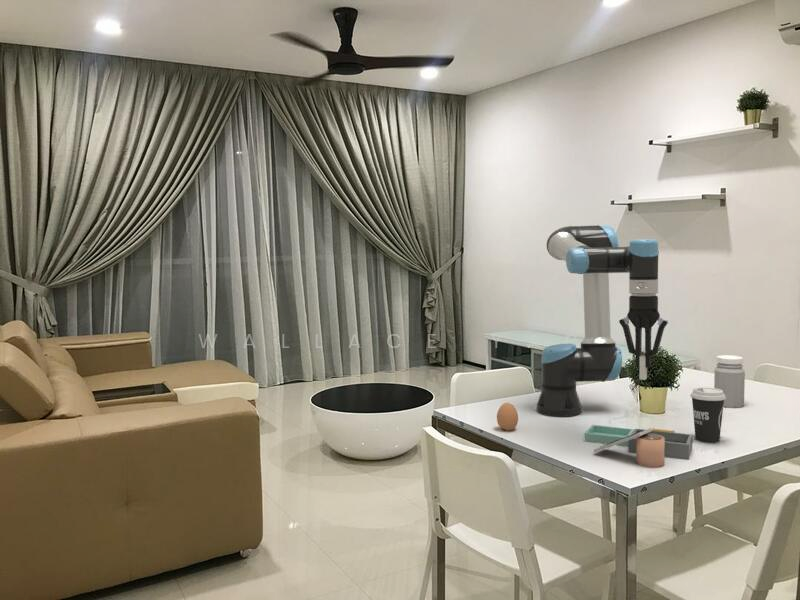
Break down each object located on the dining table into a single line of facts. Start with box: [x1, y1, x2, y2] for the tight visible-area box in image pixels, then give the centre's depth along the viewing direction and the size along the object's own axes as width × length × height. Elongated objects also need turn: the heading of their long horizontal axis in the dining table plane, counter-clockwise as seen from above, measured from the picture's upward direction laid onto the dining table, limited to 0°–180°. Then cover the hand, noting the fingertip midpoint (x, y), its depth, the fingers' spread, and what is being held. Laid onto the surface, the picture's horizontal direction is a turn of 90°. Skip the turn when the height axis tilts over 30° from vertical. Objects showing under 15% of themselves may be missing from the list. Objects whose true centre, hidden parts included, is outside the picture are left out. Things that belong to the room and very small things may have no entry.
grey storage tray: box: [628, 427, 694, 460], centre depth 188 cm, size 16×11×5 cm
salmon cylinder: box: [635, 434, 665, 468], centre depth 177 cm, size 7×7×7 cm
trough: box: [583, 424, 635, 448], centre depth 199 cm, size 13×11×2 cm
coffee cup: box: [689, 386, 726, 444], centre depth 196 cm, size 10×10×15 cm
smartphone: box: [593, 427, 652, 453], centre depth 182 cm, size 7×15×1 cm, turn 45°
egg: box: [496, 402, 519, 431], centre depth 211 cm, size 7×7×9 cm
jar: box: [713, 354, 746, 409], centre depth 236 cm, size 10×10×18 cm
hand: (643, 378), depth 186 cm, fingers closed
